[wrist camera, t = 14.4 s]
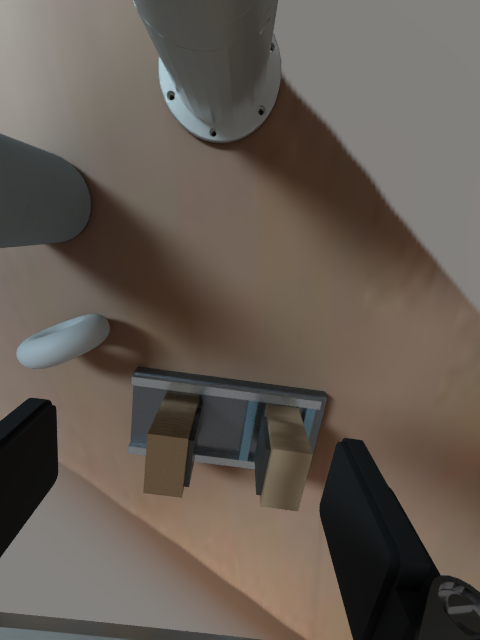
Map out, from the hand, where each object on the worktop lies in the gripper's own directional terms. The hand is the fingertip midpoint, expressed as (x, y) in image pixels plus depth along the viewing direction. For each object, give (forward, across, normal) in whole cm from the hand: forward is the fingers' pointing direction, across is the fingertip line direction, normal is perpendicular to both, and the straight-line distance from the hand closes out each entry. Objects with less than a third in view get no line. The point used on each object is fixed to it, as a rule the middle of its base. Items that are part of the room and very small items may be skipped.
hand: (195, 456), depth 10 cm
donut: (+31, +18, +8) cm, 36 cm away
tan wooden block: (+29, -9, +19) cm, 36 cm away
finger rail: (+30, -2, +19) cm, 36 cm away
